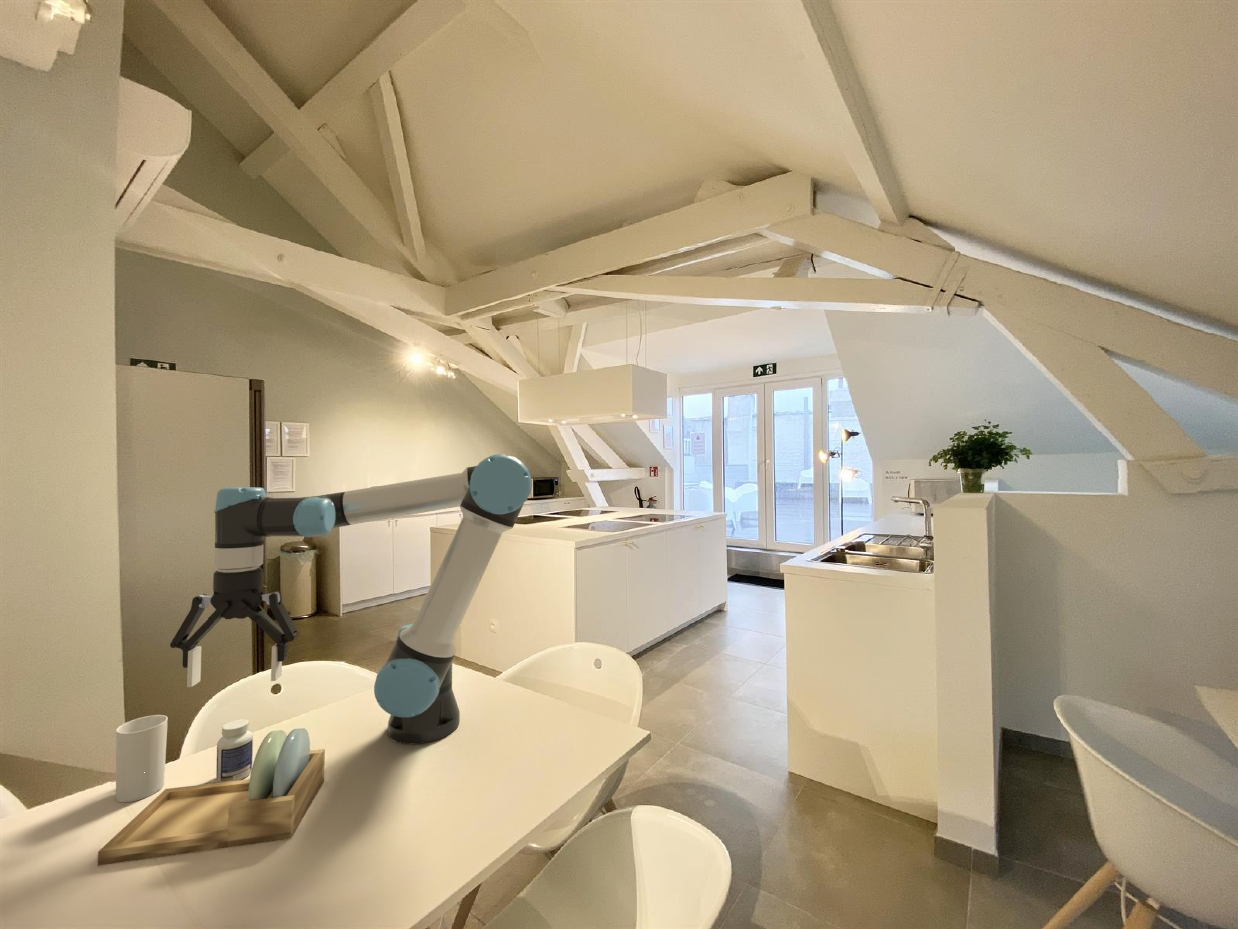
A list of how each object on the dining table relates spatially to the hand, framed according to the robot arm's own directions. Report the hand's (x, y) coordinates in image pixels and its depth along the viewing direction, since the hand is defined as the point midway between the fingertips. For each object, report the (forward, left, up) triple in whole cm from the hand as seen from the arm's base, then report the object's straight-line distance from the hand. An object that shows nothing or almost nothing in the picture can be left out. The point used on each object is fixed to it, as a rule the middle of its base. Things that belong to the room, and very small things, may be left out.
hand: (235, 681), depth 95 cm
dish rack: (-5, +13, -18) cm, 22 cm away
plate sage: (-11, +13, -18) cm, 25 cm away
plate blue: (-15, +13, -18) cm, 26 cm away
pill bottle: (0, 0, -18) cm, 18 cm away
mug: (+14, 0, -18) cm, 23 cm away
